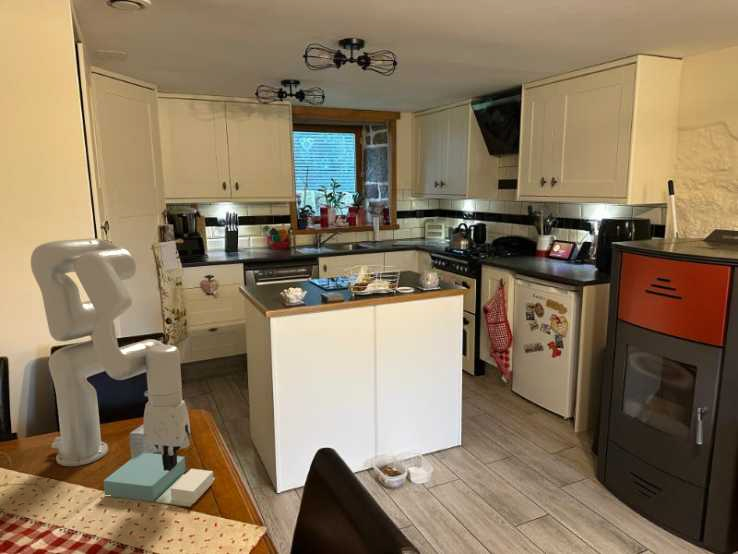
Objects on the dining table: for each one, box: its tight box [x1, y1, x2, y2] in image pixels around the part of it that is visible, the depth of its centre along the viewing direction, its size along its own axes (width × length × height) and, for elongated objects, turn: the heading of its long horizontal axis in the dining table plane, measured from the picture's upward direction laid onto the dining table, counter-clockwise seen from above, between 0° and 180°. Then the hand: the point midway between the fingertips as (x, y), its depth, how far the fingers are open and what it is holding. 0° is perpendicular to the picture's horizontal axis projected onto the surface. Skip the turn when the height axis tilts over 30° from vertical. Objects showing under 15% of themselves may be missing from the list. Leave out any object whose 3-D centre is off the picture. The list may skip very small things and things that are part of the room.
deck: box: [103, 452, 186, 503], centre depth 129 cm, size 13×14×4 cm
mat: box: [154, 473, 216, 508], centre depth 126 cm, size 9×12×1 cm
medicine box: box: [129, 423, 160, 460], centre depth 141 cm, size 8×4×9 cm, turn 168°
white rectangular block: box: [170, 468, 214, 504], centre depth 125 cm, size 6×9×3 cm, turn 168°
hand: (170, 467), depth 126 cm, fingers closed
